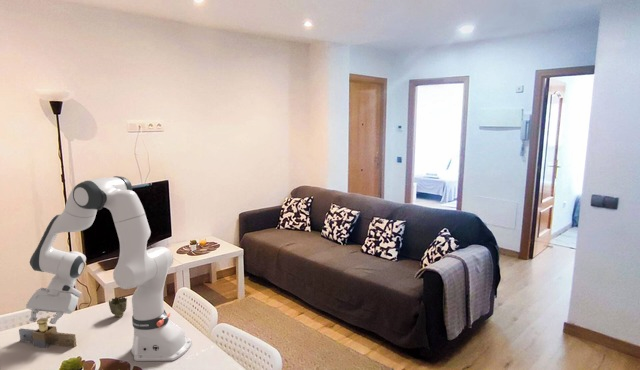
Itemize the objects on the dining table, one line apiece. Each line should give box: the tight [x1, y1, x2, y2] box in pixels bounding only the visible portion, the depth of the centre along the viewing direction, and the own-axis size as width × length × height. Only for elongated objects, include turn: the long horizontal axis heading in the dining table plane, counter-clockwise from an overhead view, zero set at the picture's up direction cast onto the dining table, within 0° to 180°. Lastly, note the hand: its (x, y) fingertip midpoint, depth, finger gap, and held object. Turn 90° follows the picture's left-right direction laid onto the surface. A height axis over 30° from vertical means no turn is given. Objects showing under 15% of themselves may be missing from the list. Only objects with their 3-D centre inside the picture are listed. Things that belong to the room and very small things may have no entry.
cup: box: [108, 296, 128, 319], centre depth 177 cm, size 8×7×8 cm
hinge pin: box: [36, 317, 49, 333], centre depth 155 cm, size 4×4×10 cm
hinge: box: [18, 325, 77, 349], centre depth 155 cm, size 26×6×6 cm, turn 80°
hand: (41, 322), depth 154 cm, fingers open, 8 cm apart
